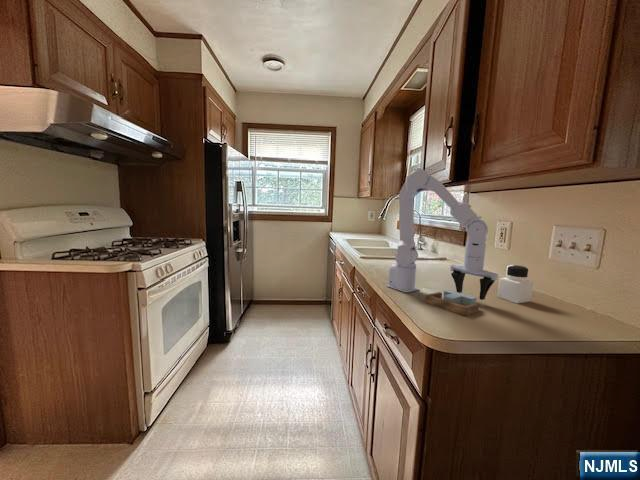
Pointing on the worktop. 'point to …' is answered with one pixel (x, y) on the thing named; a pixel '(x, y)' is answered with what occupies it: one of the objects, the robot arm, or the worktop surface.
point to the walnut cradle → (451, 305)
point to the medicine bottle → (515, 285)
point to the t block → (459, 298)
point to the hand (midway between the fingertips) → (470, 295)
